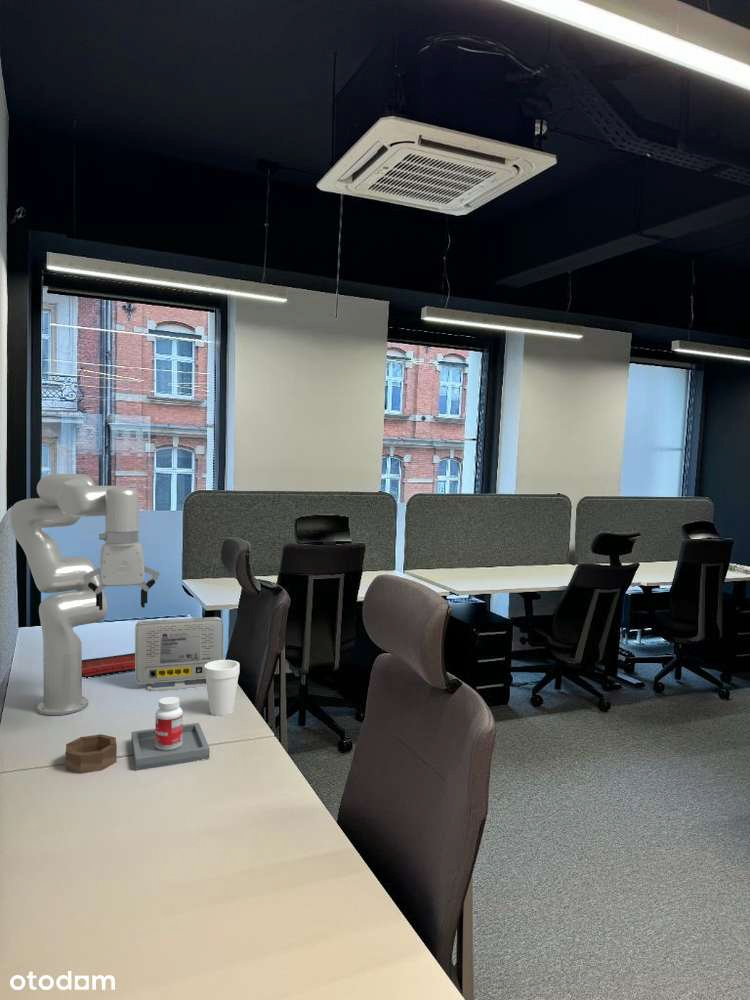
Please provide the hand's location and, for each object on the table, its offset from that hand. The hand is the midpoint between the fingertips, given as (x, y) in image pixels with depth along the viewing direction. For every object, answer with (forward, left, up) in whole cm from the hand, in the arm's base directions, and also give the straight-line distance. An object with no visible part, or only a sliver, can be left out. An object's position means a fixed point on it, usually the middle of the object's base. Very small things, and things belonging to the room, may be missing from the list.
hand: (122, 607), depth 161 cm
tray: (+12, +10, -32) cm, 36 cm away
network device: (-34, +18, -32) cm, 50 cm away
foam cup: (-8, +26, -32) cm, 42 cm away
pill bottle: (+12, +10, -32) cm, 35 cm away
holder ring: (+12, -7, -32) cm, 35 cm away
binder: (-59, 0, -33) cm, 68 cm away
